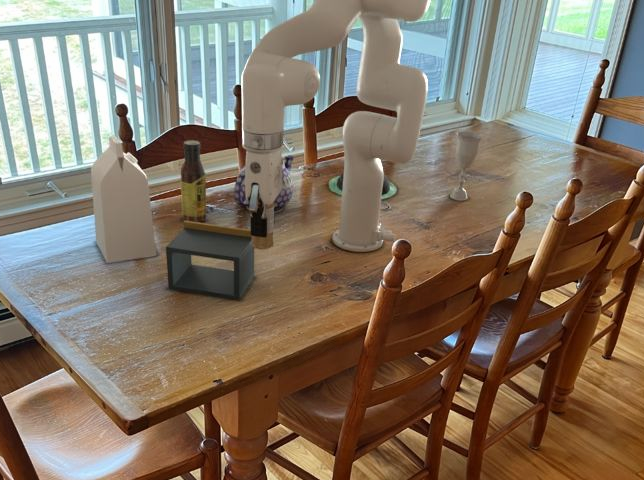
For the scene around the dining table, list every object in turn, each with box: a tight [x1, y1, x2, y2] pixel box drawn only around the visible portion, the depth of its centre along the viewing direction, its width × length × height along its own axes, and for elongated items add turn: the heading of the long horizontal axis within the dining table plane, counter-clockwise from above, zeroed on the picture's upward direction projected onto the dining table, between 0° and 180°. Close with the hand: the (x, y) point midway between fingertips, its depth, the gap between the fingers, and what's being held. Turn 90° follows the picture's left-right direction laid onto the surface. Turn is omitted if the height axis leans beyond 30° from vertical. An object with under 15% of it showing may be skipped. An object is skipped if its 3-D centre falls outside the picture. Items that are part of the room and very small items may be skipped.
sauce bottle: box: [180, 140, 207, 223], centre depth 182 cm, size 7×6×20 cm
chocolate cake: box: [328, 159, 397, 200], centre depth 211 cm, size 15×19×20 cm
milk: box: [90, 134, 157, 264], centre depth 164 cm, size 12×12×26 cm
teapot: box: [233, 154, 295, 214], centre depth 192 cm, size 25×15×15 cm, turn 143°
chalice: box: [449, 130, 484, 202], centre depth 204 cm, size 7×7×18 cm
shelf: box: [165, 220, 255, 301], centre depth 156 cm, size 16×11×12 cm
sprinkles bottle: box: [251, 199, 275, 250], centre depth 140 cm, size 5×5×14 cm
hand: (262, 229), depth 142 cm, fingers closed on sprinkles bottle, 4 cm apart
